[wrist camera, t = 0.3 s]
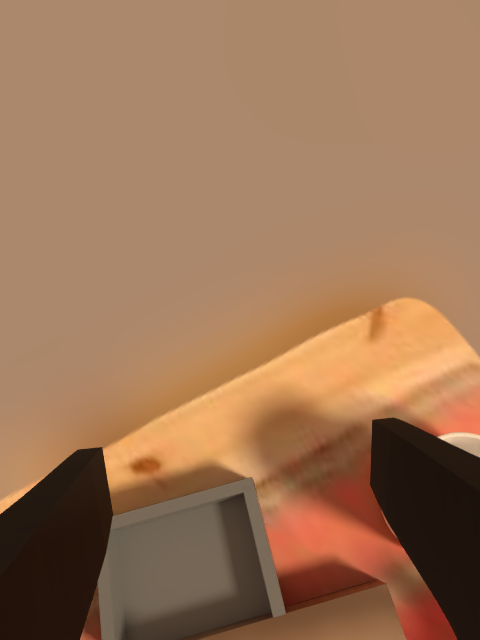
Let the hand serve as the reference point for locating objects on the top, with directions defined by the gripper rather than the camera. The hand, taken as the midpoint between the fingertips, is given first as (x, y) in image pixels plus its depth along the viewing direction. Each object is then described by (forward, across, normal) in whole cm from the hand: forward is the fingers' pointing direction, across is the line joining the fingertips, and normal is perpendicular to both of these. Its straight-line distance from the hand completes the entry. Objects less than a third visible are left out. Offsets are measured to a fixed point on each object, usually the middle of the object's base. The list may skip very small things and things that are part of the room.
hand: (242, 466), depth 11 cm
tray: (+20, +4, +23) cm, 30 cm away
